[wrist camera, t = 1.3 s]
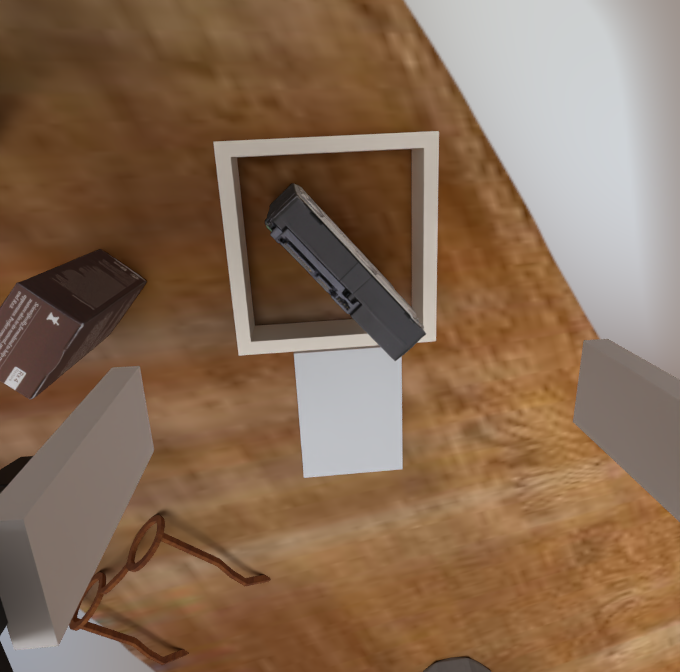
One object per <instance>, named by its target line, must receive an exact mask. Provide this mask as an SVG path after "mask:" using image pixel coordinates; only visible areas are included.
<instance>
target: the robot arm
mask: <svg viewBox="0 0 680 672" xmlns="http://www.w3.org/2000/svg"><path fill="white" fill-rule="evenodd" d="M573 422H574V423H575V424H576V425H577V426H578V427H579V428H580V429H581V430H582V431H583V432H584V433H586V434H587V435H588V436H589V437H590V438H591V439H592V440H593V441H594V442H595V443H596V444H597V445H598V446H599V447H600V448H602V449H603V450H604V451H605V452H606V453H607V454H608V455H609V456H610V457H611V458H612V459H613V460H614V461H615V462H616V463H617V464H619V465H620V466H621V467H622V468H623V469H624V470H625V471H626V472H627V473H628V474H629V475H630V476H631V477H632V478H633V479H635V480H636V481H637V482H638V483H639V484H640V485H641V486H642V487H643V488H644V489H645V490H646V491H647V492H648V493H649V494H650V495H652V496H653V497H654V498H655V499H656V500H657V501H658V502H659V503H660V504H661V505H662V506H663V507H664V508H665V509H666V510H667V511H669V512H670V513H671V514H672V515H673V516H674V517H675V518H676V519H677V520H678V521H679V522H680V380H679V379H677V378H676V377H674V376H672V375H670V374H668V373H667V372H665V371H663V370H661V369H660V368H658V367H656V366H654V365H653V364H651V363H649V362H647V361H646V360H644V359H642V358H640V357H639V356H637V355H635V354H633V353H632V352H630V351H628V350H626V349H625V348H623V347H621V346H619V345H618V344H616V343H614V342H612V341H611V340H609V339H601V340H584V342H583V350H582V358H581V365H580V373H579V380H578V388H577V396H576V403H575V411H574V418H573ZM153 451H154V448H153V442H152V436H151V430H150V424H149V418H148V412H147V407H146V401H145V395H144V389H143V383H142V377H141V371H140V366H133V367H115V368H111V369H110V371H109V372H108V373H107V374H106V375H105V376H104V377H103V378H102V380H101V381H100V382H99V383H98V384H97V385H96V386H95V388H94V389H93V390H92V391H91V392H90V393H89V394H88V395H87V397H86V398H85V399H84V400H83V401H82V402H81V403H80V404H79V406H78V407H77V408H76V409H75V410H74V411H73V412H72V413H71V415H70V416H69V417H68V418H67V419H66V420H65V421H64V422H63V424H62V425H61V426H60V427H59V428H58V429H57V430H56V431H55V433H54V434H53V435H52V436H51V437H50V438H49V439H48V440H47V442H46V443H45V444H44V445H43V446H42V447H41V448H40V449H39V451H38V452H37V453H36V454H35V455H34V456H28V457H20V458H18V459H17V460H15V461H14V462H12V463H10V464H9V465H7V466H5V467H4V468H2V469H1V470H0V635H1V633H2V632H3V630H4V628H5V627H6V625H7V628H8V632H9V635H10V638H11V641H12V644H13V647H14V650H21V649H32V648H43V647H53V646H59V644H60V642H61V640H62V638H63V635H64V634H65V631H66V630H67V627H68V625H69V623H70V621H71V619H72V617H73V615H74V613H75V611H76V609H77V607H78V605H79V603H80V601H81V599H82V597H83V595H84V593H85V591H86V589H87V587H88V584H89V582H90V580H91V578H92V576H93V574H94V572H95V570H96V568H97V566H98V564H99V562H100V560H101V558H102V556H103V554H104V552H105V550H106V548H107V546H108V544H109V542H110V539H111V537H112V535H113V533H114V531H115V529H116V527H117V525H118V523H119V521H120V519H121V517H122V515H123V513H124V511H125V509H126V507H127V505H128V503H129V501H130V499H131V497H132V494H133V492H134V490H135V488H136V486H137V484H138V482H139V480H140V478H141V476H142V474H143V472H144V470H145V468H146V466H147V464H148V462H149V460H150V458H151V456H152V454H153ZM0 672H13V670H12V668H11V665H10V663H9V661H8V658H7V656H6V653H5V651H4V649H3V646H2V644H1V642H0Z"/></svg>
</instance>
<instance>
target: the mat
mask: <svg viewBox="0 0 680 672" xmlns="http://www.w3.org/2000/svg"><path fill="white" fill-rule="evenodd" d="M294 361H295V373H296V385H297V398H298V410H299V422H300V434H301V447H302V459H303V471H304V478H307V477H318V476H329V475H341V474H352V473H363V472H375V471H386V470H398V469H402V358H401V357H400V358H399V359H398V360H396V361H394V360H393V359H392V358H391V357H390V356H389V355H388V354H387V353H386V352H385V351H384V350H383V349H382V348H381V347H380V346H365V347H351V348H337V349H323V350H310V351H296V352H294Z"/></svg>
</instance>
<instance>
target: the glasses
mask: <svg viewBox="0 0 680 672" xmlns="http://www.w3.org/2000/svg"><path fill="white" fill-rule="evenodd" d="M155 523H157V533H156V536H155V539H154V542H153V544H152V546H151V547H150V549H149V551H148V552H147V553H146V555H145V556H144V557H143V558H142V559H141V560H140V561H139V562H137V563H135V562H134V560H135V554H136V550H137V547H138V545H139V542H140V540H141V539H142V537H143V536H144V534H145V533H146V531H147V530H148V529H149V528H150V527H151V526H152V525H154V524H155ZM164 527H165V521H164V518H163V517H162V516H159V515H155V516H153V517H152V518H151V519H149V520H148V521H147V522H146V523H145V525H144V526H143V527H142V528H141V529H140V531H139V532H138V534H137V536H136V537H135V539H134V541H133V543H132V546H131V549H130V552H129V556H128V560H127V563H126V565H125V566H124V567H123V569H122V570H121V571H120V572H119V573H118V574H117V575H116V576H115V577H114V578H113V579H112V580H111V581H110V582H109V583H108V584H107V585H106V575H105V574H104V573H101V572H99V573H97V574H95V575H94V576H93V577H92V578H91V580H90V582H89V584H88V587H87V589H86V591H85V593H84V595H83V597H82V599H81V601H80V603H79V605H78V607H77V609H76V611H75V613H74V615H73V617H72V619H71V621H70V623H69V627H70V629H72V630H75V631H76V630H79V629H83V630H86V631H89V632H92V633H95V634H98V635H101V636H104V637H107V638H110V639H113V640H116V641H119V642H122V643H125V644H128V645H131V646H133V647H135V648H136V649H137V650H138V651H140V652H141V653H142V654H143V655H145V656H146V657H147V658H149V659H151V660H153V661H155V662H157V663H159V664H161V665H164V664H166V663H169V662H171V661H173V660H176V659H178V658H181V657H183V656H185V655H187V654H189V653H188V652H187V651H185V650H184V649H182V650H180V651H177V652H175V653H172V654H170V655H167V656H165V657H162V656H160V655H158V654H157V653H155V652H153V651H152V650H150V649H148V648H147V647H146V646H145V645H144V644H143V643H141V642H140V641H139V640H138V639H137V638H134V637H131V636H128V635H125V634H123V633H120V632H117V631H114V630H111V629H108V628H105V627H102V626H99V625H96V624H93V623H90V622H88V620H89V619H90V618H91V617H92V615H93V614H94V612H95V611H96V609H97V607H98V605H99V604H100V602H101V600H102V597H103V594H107V593H108V592H110V591H111V590H112V589H113V588H114V587H115V586H116V585H117V584H118V583H119V582H120V581H121V580H122V579H123V577H124V576H125V575H126V574H127V572H128V571H132V572H136V571H138V570H140V569H141V568H143V567H144V566H145V565H146V564H147V563H148V561H149V560H150V559H151V558H152V556H153V555H154V553H155V552H156V550H157V548H158V546H159V544H160V542H161V541H162V542H164V543H167V544H169V545H171V546H173V547H175V548H178V549H180V550H182V551H184V552H186V553H189V554H191V555H193V556H195V557H198V558H200V559H202V560H204V561H206V562H209V563H211V564H213V565H215V566H217V567H218V568H220V569H221V570H222V571H223V572H224V573H225V574H227V575H228V576H229V577H230V578H232V579H233V580H235V581H237V582H239V583H240V584H242V585H244V586H249V585H254V584H259V583H264V582H268V581H270V578H269V577H268V576H266V575H260V576H255V577H249V578H244V577H243V576H241V575H240V574H238V573H237V572H235V571H233V570H232V569H231V568H230V567H229V566H227V565H226V564H225V563H224V562H223V561H222V560H221V559H219V558H217V557H215V556H213V555H211V554H208V553H206V552H204V551H202V550H200V549H198V548H195V547H193V546H191V545H189V544H187V543H185V542H182V541H180V540H178V539H176V538H174V537H172V536H169V535H167V534H165V533H164ZM98 580H99V587H98V591H97V595H96V597H95V599H94V601H93V603H92V605H91V607H90V609H89V610H88V612H87V613H86V614H85V615H84V617H83V618H82V619H79V618H77V615H78V611H79V608H80V605H81V603H82V600H83V599H84V597H85V595H86V593H87V592H88V590H89V589H90V588H91V587H92V585H93V584H94V583H96V582H97V581H98ZM105 585H106V586H105Z"/></svg>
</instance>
